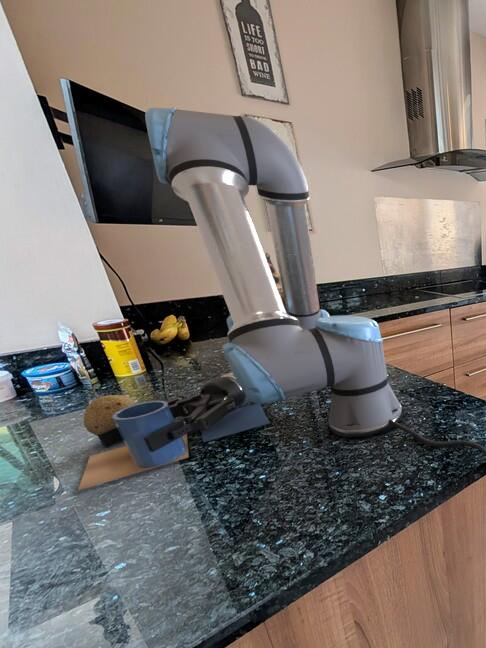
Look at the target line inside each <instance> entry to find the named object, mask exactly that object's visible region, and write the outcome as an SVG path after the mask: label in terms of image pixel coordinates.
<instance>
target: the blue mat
mask: <svg viewBox="0 0 486 648" xmlns="http://www.w3.org/2000/svg"><path fill="white" fill-rule="evenodd" d="M236 408H237V409H236V410H234V411H232V412H230V413H228V414H227V415H226V416H225V417H223V418H222V419H221V420H219V421H218V422H217V423H215V424H214V425H213V426H212V427H210V428H209V429H208V430H206V431H201V437H202V443H206V442H209V441H213V440H217V439H220V438H223V437H227V436H231V435H234V434H237V433H241V432H245V431H248V430H252V429H255V428H259V427H262V426H265V425H269V424H270V421H269V419H268V417H267V415H266V413H265V410H264V409H263V407H262V404H257V403H254V404H249V405H246V406H242V407H236ZM205 423H206V421H205Z"/></svg>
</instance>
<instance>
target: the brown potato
mask: <svg viewBox="0 0 486 648" xmlns="http://www.w3.org/2000/svg"><path fill="white" fill-rule="evenodd" d="M115 395H116V394H109V395H108V394H107V395H102V396H99V397H97V398H95V399H94V400H92V401H91V402H90V403H89V404H88V405H87V406H86V408H85V411H84V414H83V425H84V427H85V429H86V430H87V432H89V433H90V434H92V435H94V436H96V437H98V436H97V434H99V433H102V432H104V431H106V430H108V429H111V428H113V427H115V426H116V425H115V423H114V421H113V419H112V417H113V415H114V414H115V413H116V412H118V411H120V410H122V409H124V408H127V407H130V406H133V405H136V404H138V403H137V402H136V401H135V400H134V399H133V400H134V401H135V402H134V401H133V400H131V399H128V398H126V397H121V396H115ZM121 442H124V441H123V440H122V441H121Z"/></svg>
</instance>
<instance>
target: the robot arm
mask: <svg viewBox="0 0 486 648" xmlns="http://www.w3.org/2000/svg"><path fill="white" fill-rule="evenodd" d="M144 117H145V118H144V119H145V126H146V129H147V135H148V140H149V144H150V148H151V154H152V159H153V163H154V167H155V171H156V175H157V178H158V181H159V182H160V183H161V184H166V185H168V186H171V188H172V190H173V192H174V193H175V195H176V196H178V197H179V198H180V199H181V200H184V201H185V202H188V205H189V207H190V210H191V212H192V215H193V218H194V221H195V223H196V226H197V229H198V232H199V234H200V236H201V240H202V243H203V245H204V248H205V250H206V253H207V255H208V258H209V260H210V263H211V266H212V269H213V271H214V274H215V277H216V280H217V283H218V285H219V288H220V291H221V294H222V296H223V298H224V301H225V304H226V306H227V310H228V311H229V315H228V317H227V318H226V324H227V328H228V331H227V338H228V340H229V342H226V343H225V344H224V345H222V353H223V356H224V358H225V360H226V362H227V364H228V366H229V369H230V370H231V371H230V372H228V373H225V374H223V375H220V376H219V377H217V378H215V379H212V380H210V381H208V382H206V383H204V384H203V385H202V387H201V390H200V392H199V393H196V394H193V395H190V396H189V397H187V398H186V397H185V395H184V394H183V395H178V396H175V397H173V398H171V399H168V400H166V401H165V402H168V405H169V407H170V409H171V412H172V414H173V416H174V419H176V418H180V417H182V418H183V420H184V421H183V420H176V422H175V423H173V424H171V425H169V426H167V427H165V428H163V429H161V430H159V431H157V432H155V433H153V434H151V435H149V436H147V437H145V438H144V440H145V442H146V444H147V446H148V449H149V451H150V452H154V451H156V450H158V449H160V448H162V447H163V446H165V445H167V444H169V443H171V442H173V441H174V440H176V439H178V438H180V437H182V436H184V435H185V434H187V435H188V434H189V433H195V432H197V431H198V430H199V431H200V432H202V431H206V430H208V429H209V428H210V427H212V426H213V425H214V424H215V423H217V422H218V421H219V420H221V419H222V418H223V417H225V416H226V415H227V414H228V413H230V412H232V411H234V410H236V409H237V408H239V407H240V406H241V405H244V404H248V401H250V402H252V403H254V404H260V405H264V404H270V403H274V402H277V401H280V402H282V401H285V400H286V399H289V398H292V397H297V396H300V395H303V394H307V393H310V392H315V391H317V390H318V391H319V390H322V389H325V388H330V392H331V397H330V405H329V413H328V420H327V421H328V426H329V429H330V431H331V433H332V434H333V435H335V436H338V437H342V438H348V439H349V438H351V439H355V438H356V439H357V438H366V437H371V436H375V435H379V434H381V433H384V432H387V431H388V430H390V429H392V428H394V427H395V428H397V429H399V430H400V431H402V432H405V433H407V434H409V435H410V436H412V437H414V438H416V440H418V441H419V442H421V443H423V444H425V445H427V446H431V447H437V448H442V447H443V448H444V447H456V446H465V447H470V448H473V449H476V450H479V451H480V452H481V453H482V454H483V455H484V457H486V447H484V446H483V445H481V444H479V443H476V442H473V441H468V440H449V441H433V440H430V439H427V438H425V437H424V436H422V435H421V434H420V433H418V432H416V431H414V430H413V429H411V428H409V427H407V426H404V425H403V424H401V423H400V422H401V420H402V419H403V415H404V414H403V408H402V405H401V403H400V402H399V399H398V398H397V396H396V394H395V391H394V390H393V389H392V386H391V385H390V382H389V378H388V377H389V376H388V370H387V364H386V358H385V351H384V350H385V349H384V343H383V342H384V339H383V338H382V335H381V330H380V327H379V324H378V322H377V321H375V320H374V319H372V318H370V317H367V316H359V315H330V314H329V312H327V311H326V309H321V308H320V301H319V300H320V299H319V293H318V287H317V278H316V271H315V266H314V265H315V263H314V258H313V251H312V244H311V242H312V241H311V237H310V229H309V222H308V213H307V209H306V208H307V206H306V203H307V202H308V201H309V200H310V193H309V184H308V180H307V177H306V175H305V172H304V170H303V168H302V165H301V164H300V163H301V162H300V161H299V159H298V158H297V156H296V154H295V153H294V151H293V150H292V149H291V147H290V145H288V143H286V141H285V139H283V138H282V137H281V136H280V135H279V134H278V133H277V132H276V131H275V130H273V128H271V127H270V126H268V125H266V124H265V123H264V122H262V121H260V120H258V119H255V118H252V117H249V116H245V115H231V114H224V113H223V114H222V113H212V112H205V111H197V110H186V109H178V108H177V107H171V108H168V107H150V108H148V109H147V110H146V111H145V114H144ZM250 186H256V189H257V195H258V197H259V198H260V199H262V200H263V201H264V202H265V207H266V208H265V209H266V212H267V218H268V222H269V223H268V224H269V228H270V234H271V238H272V245H273V248H274V249H273V250H274V254H275V259H276V263H277V269H278V274H279V275H280V280H281V285H282V290H283V295H284V300H285V305H286V310H287V313H286V311H285V308H284V305H283V302H282V300H281V297H280V294H279V292H278V289H277V286H276V284H275V281H274V278H273V276H272V273H271V270H270V268H269V265H268V262H267V259H266V257H265V254H266V253H265V251H264V248H263V246H262V244H261V241H260V238H259V236H258V232H257V230H256V228H255V225H254V222H253V219H252V216H251V214H250V212H249V211H250V210H249V209H248V205H247V204H246V200H245V198H246V197H247V196H248V195H249V192H250ZM205 421H206V423H205ZM96 437H98V439H99V441H100V443H101V445H102V447H103V448H104V449H108V448H111V447H112V446H114V445H116V444H118V443H120V442H123V441H122V440H123V439H122V437H121V435H120V433H119V431H118V429H117V427H116V426H115V427H113V428H111V429H108V430H106V431H104V432H102V433H99V434H97V436H96Z"/></svg>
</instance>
